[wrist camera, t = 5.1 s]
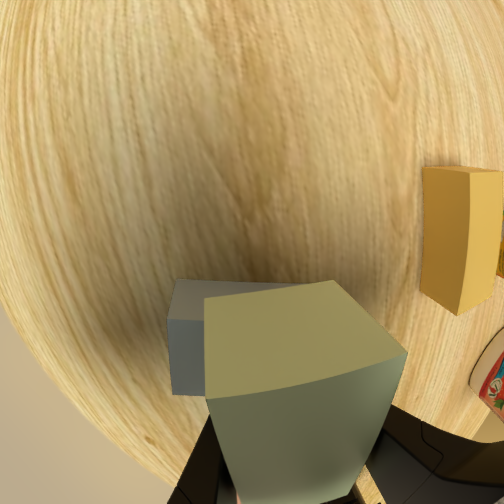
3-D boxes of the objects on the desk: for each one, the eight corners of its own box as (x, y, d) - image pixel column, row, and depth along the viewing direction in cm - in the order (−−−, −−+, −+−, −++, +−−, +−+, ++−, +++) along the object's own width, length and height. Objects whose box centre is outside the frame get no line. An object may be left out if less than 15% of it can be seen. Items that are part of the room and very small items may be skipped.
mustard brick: (454, 275, 16) (491, 296, 13) (418, 289, 16) (456, 316, 12) (458, 165, 14) (503, 171, 10) (420, 167, 14) (469, 172, 10)
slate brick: (329, 282, 15) (365, 318, 11) (315, 343, 16) (341, 386, 12) (176, 277, 13) (166, 318, 10) (178, 343, 14) (172, 394, 11)
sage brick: (318, 430, 11) (347, 494, 7) (235, 446, 10) (247, 518, 7) (333, 279, 8) (407, 351, 5) (204, 298, 8) (205, 399, 4)
